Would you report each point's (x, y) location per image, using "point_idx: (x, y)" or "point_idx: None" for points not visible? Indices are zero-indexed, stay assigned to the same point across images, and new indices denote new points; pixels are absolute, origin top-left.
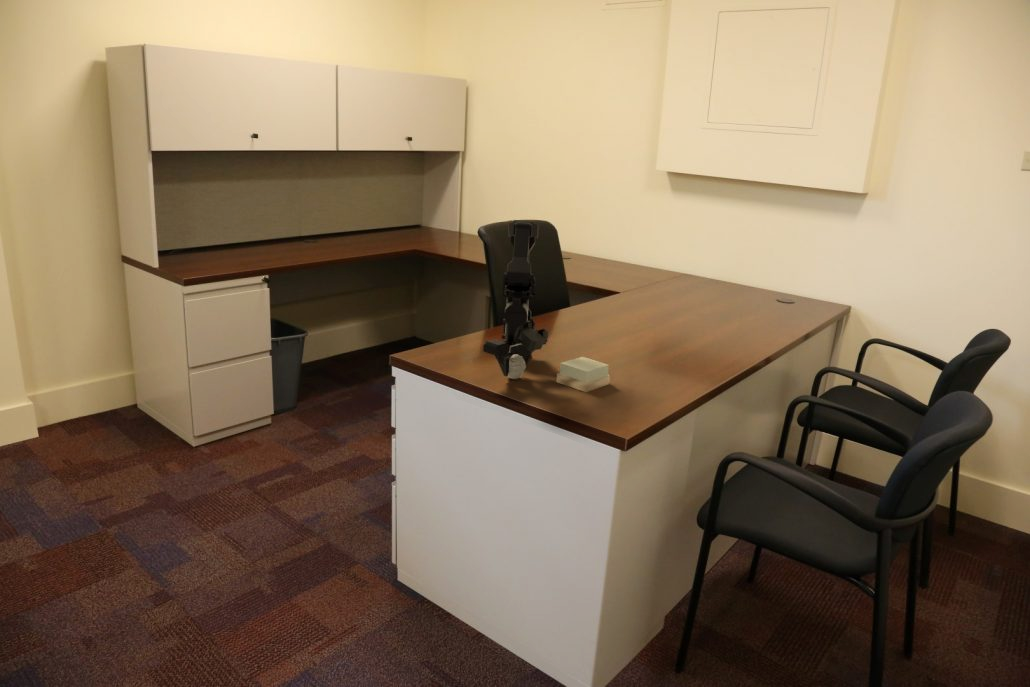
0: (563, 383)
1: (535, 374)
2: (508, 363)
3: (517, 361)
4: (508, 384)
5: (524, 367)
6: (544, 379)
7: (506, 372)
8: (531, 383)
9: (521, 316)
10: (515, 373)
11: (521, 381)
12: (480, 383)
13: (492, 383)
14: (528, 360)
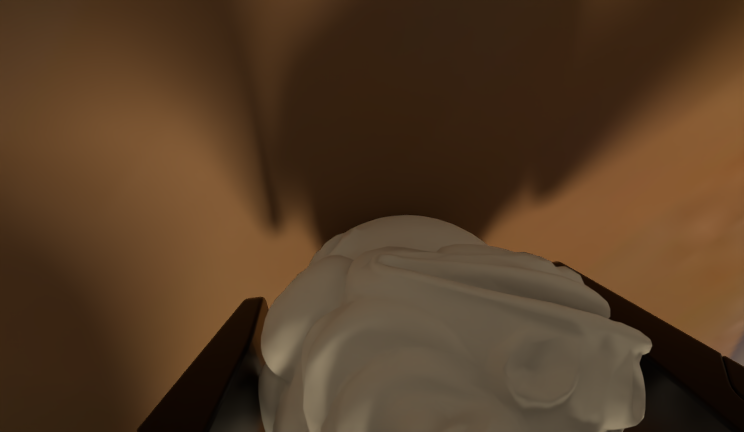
0: None
1: (82, 247)
2: (720, 392)
3: (605, 384)
4: (570, 160)
5: (383, 254)
6: (42, 50)
7: (604, 289)
8: (325, 29)
9: None
10: (482, 244)
11: (383, 158)
12: (703, 297)
13: (644, 255)
14: (151, 417)
